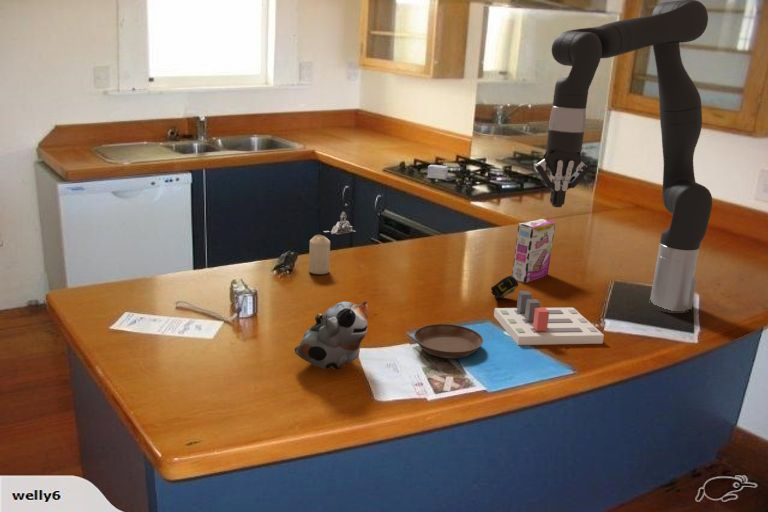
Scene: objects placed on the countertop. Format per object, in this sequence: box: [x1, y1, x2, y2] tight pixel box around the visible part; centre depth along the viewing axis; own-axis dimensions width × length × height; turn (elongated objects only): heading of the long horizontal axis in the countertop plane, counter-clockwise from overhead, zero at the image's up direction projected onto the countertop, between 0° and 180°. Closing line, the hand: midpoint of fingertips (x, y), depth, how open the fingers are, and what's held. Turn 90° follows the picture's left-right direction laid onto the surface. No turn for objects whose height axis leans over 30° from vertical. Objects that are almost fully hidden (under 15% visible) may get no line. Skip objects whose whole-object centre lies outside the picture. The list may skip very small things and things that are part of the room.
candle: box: [308, 234, 331, 275], centre depth 205 cm, size 6×6×10 cm
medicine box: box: [427, 164, 449, 180], centre depth 324 cm, size 8×4×9 cm, turn 74°
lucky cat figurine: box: [294, 300, 370, 371], centre depth 152 cm, size 15×12×14 cm
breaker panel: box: [493, 290, 605, 346], centre depth 175 cm, size 20×17×7 cm
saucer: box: [413, 323, 484, 359], centre depth 163 cm, size 15×15×3 cm
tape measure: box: [490, 275, 519, 300], centre depth 191 cm, size 7×7×4 cm
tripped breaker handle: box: [533, 307, 549, 331], centre depth 169 cm, size 2×2×4 cm
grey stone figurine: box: [323, 211, 356, 235], centre depth 245 cm, size 9×9×8 cm
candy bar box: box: [511, 218, 556, 284], centre depth 208 cm, size 11×5×16 cm, turn 135°
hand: (556, 206), depth 168 cm, fingers closed
